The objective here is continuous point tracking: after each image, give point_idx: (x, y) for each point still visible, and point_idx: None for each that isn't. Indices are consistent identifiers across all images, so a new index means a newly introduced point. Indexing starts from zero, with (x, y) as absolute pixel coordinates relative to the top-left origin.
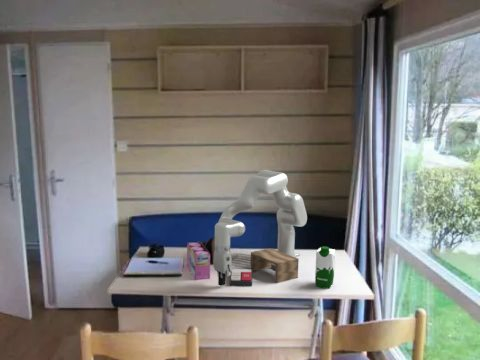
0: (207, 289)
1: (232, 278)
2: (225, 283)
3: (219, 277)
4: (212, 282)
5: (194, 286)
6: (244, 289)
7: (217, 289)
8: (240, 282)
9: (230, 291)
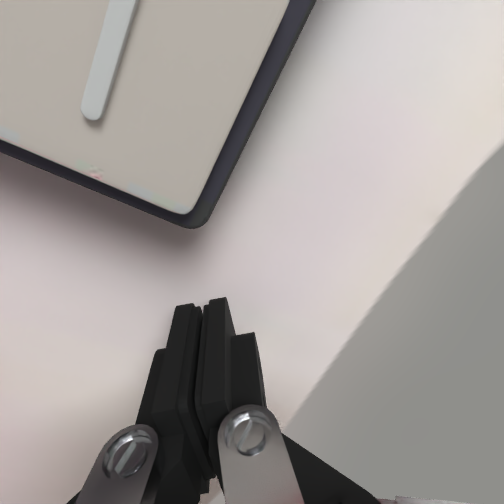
0: None
1: (146, 163)
2: (225, 304)
3: (206, 481)
4: (17, 358)
5: None
6: (461, 36)
7: None
8: (307, 9)
9: (390, 271)
